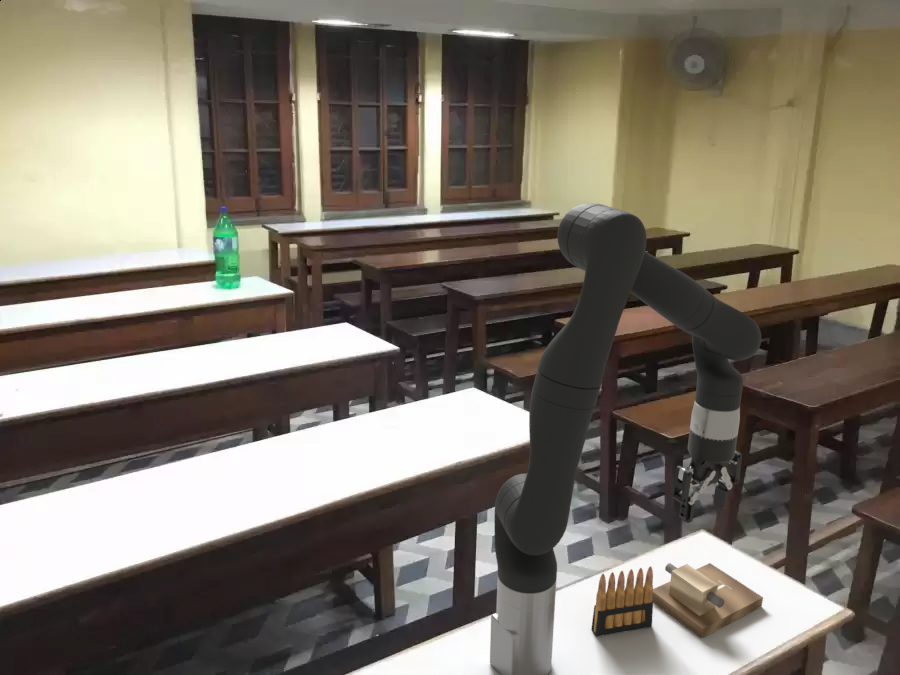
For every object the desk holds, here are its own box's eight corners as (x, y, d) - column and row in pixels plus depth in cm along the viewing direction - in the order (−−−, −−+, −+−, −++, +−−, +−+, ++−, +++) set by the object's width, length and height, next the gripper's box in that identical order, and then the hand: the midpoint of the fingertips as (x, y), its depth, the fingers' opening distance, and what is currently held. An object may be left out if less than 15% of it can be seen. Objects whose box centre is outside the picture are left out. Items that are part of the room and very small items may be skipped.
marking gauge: (710, 624, 127) (714, 600, 125) (658, 586, 136) (661, 563, 135) (726, 616, 129) (730, 592, 127) (673, 579, 138) (676, 556, 137)
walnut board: (701, 638, 126) (703, 628, 126) (650, 599, 136) (651, 590, 135) (761, 606, 134) (763, 597, 134) (708, 571, 144) (709, 563, 143)
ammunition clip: (595, 636, 127) (600, 577, 123) (591, 629, 128) (595, 571, 125) (652, 626, 129) (658, 568, 125) (646, 619, 131) (652, 562, 127)
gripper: (702, 447, 115) (691, 536, 120) (761, 427, 122) (748, 512, 127) (666, 429, 121) (657, 515, 126) (724, 411, 128) (713, 493, 133)
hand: (702, 513), depth 127 cm, fingers open, 8 cm apart
